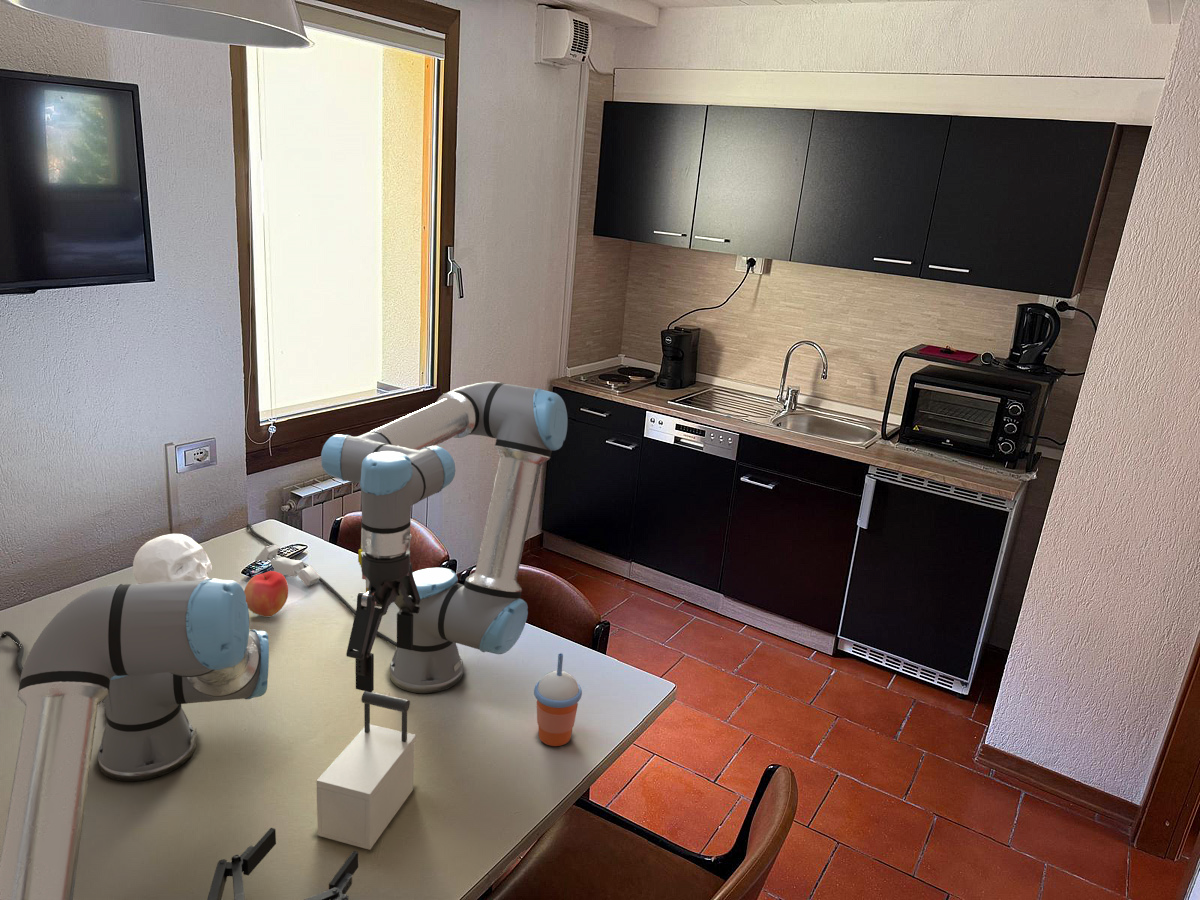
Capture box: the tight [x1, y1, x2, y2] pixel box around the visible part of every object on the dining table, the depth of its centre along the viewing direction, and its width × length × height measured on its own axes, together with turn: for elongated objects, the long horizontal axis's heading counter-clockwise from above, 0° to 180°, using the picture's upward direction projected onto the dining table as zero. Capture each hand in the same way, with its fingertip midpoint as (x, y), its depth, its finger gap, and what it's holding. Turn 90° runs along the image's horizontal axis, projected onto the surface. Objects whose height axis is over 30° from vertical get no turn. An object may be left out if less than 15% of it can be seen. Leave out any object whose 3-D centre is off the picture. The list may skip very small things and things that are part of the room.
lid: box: [315, 691, 417, 801], centre depth 138 cm, size 16×9×9 cm, turn 166°
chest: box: [316, 743, 415, 851], centre depth 141 cm, size 15×9×9 cm, turn 166°
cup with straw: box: [533, 652, 583, 747], centre depth 162 cm, size 9×9×18 cm
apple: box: [243, 570, 289, 618], centre depth 199 cm, size 10×10×10 cm
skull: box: [132, 533, 213, 584], centre depth 203 cm, size 13×22×16 cm, turn 73°
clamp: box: [254, 544, 322, 587], centre depth 219 cm, size 20×4×7 cm, turn 62°
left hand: (314, 846), depth 125 cm, fingers open, 13 cm apart
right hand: (385, 667), depth 141 cm, fingers open, 13 cm apart
